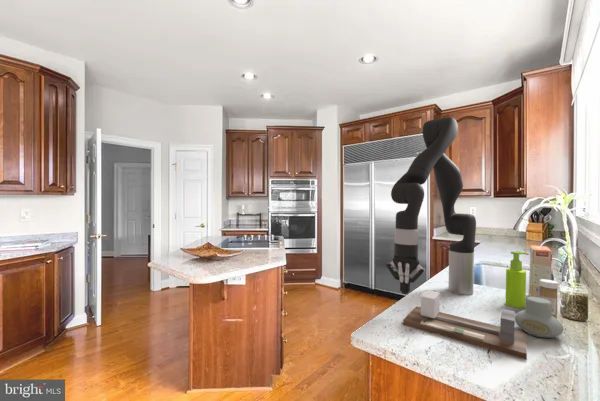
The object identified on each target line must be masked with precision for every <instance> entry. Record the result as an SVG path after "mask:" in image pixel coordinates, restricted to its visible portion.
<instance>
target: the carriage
mask: <svg viewBox="0 0 600 401" xmlns="http://www.w3.org/2000/svg"><path fill="white" fill-rule="evenodd" d="M440 296H441V295H440V292H436V291H432V290H431V291H430V290H426V291H424V292H423V294H421V296H420V307H421V315H422V316H426V317H425V319H424V320H423V322H426V321H427V319H428V318H429V317H430V318H435V317H436V316H437V314H438V313H439V312H440V305H441V304H440V300H441V299H440Z"/></svg>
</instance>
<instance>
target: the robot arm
mask: <svg viewBox="0 0 600 401" xmlns="http://www.w3.org/2000/svg"><path fill="white" fill-rule="evenodd" d="M421 131H422V137H423V138H422V139H423V141H424V144H425V147H426V148H425V149H424V150H423V151H422V152H420V153H418V154H417V156H415V158H414V159H413V161H412V162H411V164H410V165H409V167H408V169H407V171H406V172H405V173H404V174H403V175H402V176H401V177H400V178H399V179H398V180H397V181H396V182H395V183H394V184H393V186H392V188H391V191H390V196H391V197H390V198H391V200H392V201H393V202H394V203H396V204H401V205H407V206H406V208H405V209H404V210H400V211H398V212H396V213H395V229H394V238H393V244H394V246H393V247H394V248H393V258H392V260H391V261H390V262H388V263H386V267H387V269H388V270H389V272H390V274H391V275H392V277H393V278H394V279H395V280H397V281H399V286H400V287H399V290H400V292H401V294H403V295H408V293H410V291H411V283H415V282H417V280H418V279H419V278H420V277H421V276H422V275H423V274H424V273H425V272H426V271H427V269H426V267H423V266H421V264H420V261H419V258H418V257H419V232H418V230H419V229H418V228H419V226H418V225H419V224H418V223H419V222H418V221H419V215H420V212H421V208H422V206H423V202H424V199H425V191H424V190H425V189H424V187H423V186H422V185H423V184H425V183H426V182H427V180H428V178H429V177H430V174H431V172H432V171H434V172H433V173H434V178H435V182H436V186H437V189H438V193H439V197H440V202H441V206H442V213H443V220H444V226H445V230H446V231H447V233H449V234H451V235H455V236H463V238H461V240H459V241H456V242H451V243H449V245H448V246H449V247H448V281H447V282H448V285H447V286H448V287H447V288H448V291H449V292H451V293H454V294H459V295H466V296H468V295H473V294H474V272H475V270H474V267H475V266H474V265H475V264H474V263H475V245H476V231H477V219H476V217H475V215H474V214H471V213H460V212H459V213H456V211H455V204H456V202H457V200H458V198H459V197H460V195H461V193H462V190H463V188H464V183H463V178H462V173H461V171H460V168H459V167H458V166H457V165H456V164H455V163H454V161H452V159H450V158H449V156H447V155H446V153H445V152H446V151H447V149H449V147H450V146H451V145H452V144H453V142H454V141H455V139H456V138H457V135H458V133H459V132H458V131H459V126H458V122H457V120H456V119H455V118H454V117H447V116H445V117H440V118H435V119H431V120H427V121H426V122H424V124H423V126H422V130H421ZM395 267H396V268H395ZM415 270H416V274H415V275H413V276H412V273H413V272H414V271H415Z"/></svg>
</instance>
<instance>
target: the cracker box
mask: <svg viewBox="0 0 600 401" xmlns="http://www.w3.org/2000/svg"><path fill="white" fill-rule="evenodd" d="M529 246H530V248H529V275H528V277H529V278H528V297H539V298H540V285H539V281H540V280H541V279H547V280H552V261H553V260H552V259H553V251H552V250H551V249H550V248H549V247H548V246H546V245H545V246H543V245H533V244H532V245H529Z"/></svg>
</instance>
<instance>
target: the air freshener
mask: <svg viewBox="0 0 600 401" xmlns="http://www.w3.org/2000/svg"><path fill="white" fill-rule="evenodd" d="M515 323H516V324H515V325H517V326H518V327H519V328H520V329H521V330H522V331H523V332H525V333H527V334H529V335H531V336H533V337H536V338H541V339H542V338H543V339H544V338H545V339H548V338H549V339H551V338H557V337H559V336H560V335H562V334H563V332H564V326H563V324H562V323H561V321H560V320H559V319H558V318H557V319H556V318H555V317H553V316H552V303H551V302H550V301H549V300H546V299H543V298H539V297H529V296H527V297H525V308H524V310H520V311H518V312H517V313H515Z"/></svg>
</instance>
